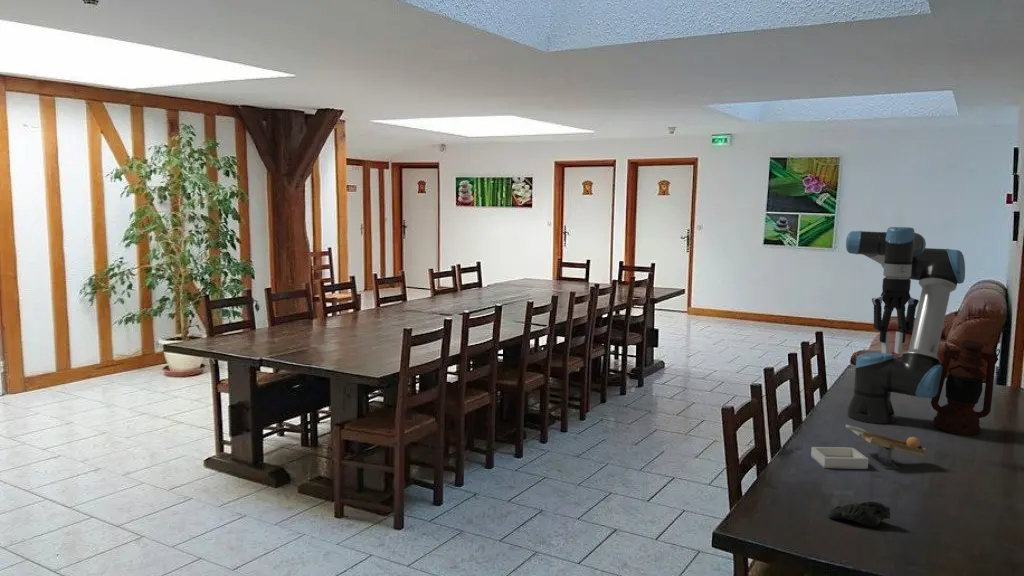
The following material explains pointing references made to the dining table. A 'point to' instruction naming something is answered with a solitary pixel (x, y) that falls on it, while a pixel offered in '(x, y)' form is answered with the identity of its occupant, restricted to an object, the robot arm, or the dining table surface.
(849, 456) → the dish
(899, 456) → the dining table surface
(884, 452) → the fulcrum
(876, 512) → the stone
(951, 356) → the lantern
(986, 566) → the dining table surface
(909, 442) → the ball
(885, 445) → the lever
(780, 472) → the dining table surface
